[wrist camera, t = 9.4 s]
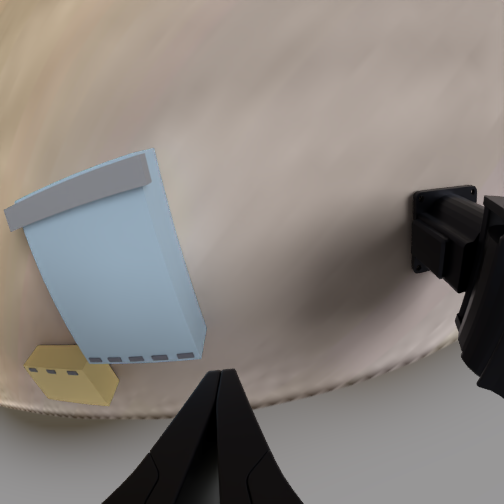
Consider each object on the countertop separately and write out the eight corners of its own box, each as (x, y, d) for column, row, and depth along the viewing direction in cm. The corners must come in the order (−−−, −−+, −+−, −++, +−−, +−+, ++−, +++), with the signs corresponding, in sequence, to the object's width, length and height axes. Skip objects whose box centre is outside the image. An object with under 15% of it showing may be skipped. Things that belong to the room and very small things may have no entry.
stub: (96, 344, 23) (81, 370, 20) (119, 380, 25) (108, 407, 22) (37, 345, 23) (22, 366, 20) (60, 377, 25) (48, 399, 22)
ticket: (162, 145, 17) (138, 150, 13) (213, 327, 22) (208, 365, 18) (37, 191, 17) (2, 207, 13) (98, 338, 23) (80, 370, 19)
